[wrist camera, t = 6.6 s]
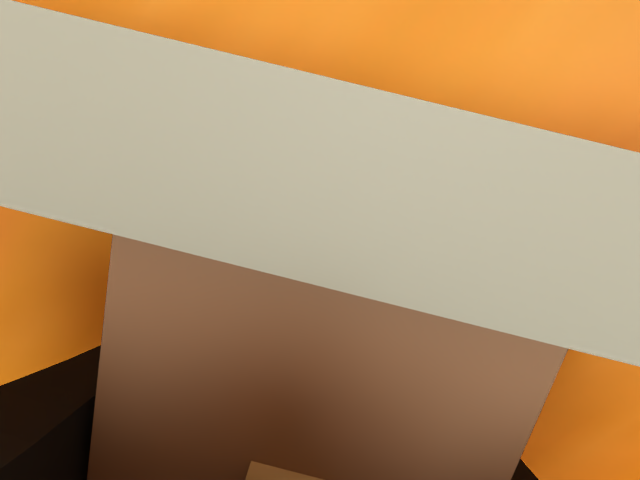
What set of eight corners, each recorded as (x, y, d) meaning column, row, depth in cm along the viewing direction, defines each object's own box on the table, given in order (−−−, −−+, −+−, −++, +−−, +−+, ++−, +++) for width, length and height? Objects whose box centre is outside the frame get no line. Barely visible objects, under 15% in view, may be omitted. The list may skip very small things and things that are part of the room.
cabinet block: (370, 490, 13) (375, 892, 7) (192, 444, 13) (19, 795, 7) (462, 212, 11) (617, 401, 4) (245, 158, 11) (57, 260, 4)
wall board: (593, 513, 13) (816, 922, 6) (-6, 359, 13) (-351, 605, 7) (762, 187, 10) (1419, 342, 4) (5, 3, 10) (-548, -135, 4)
